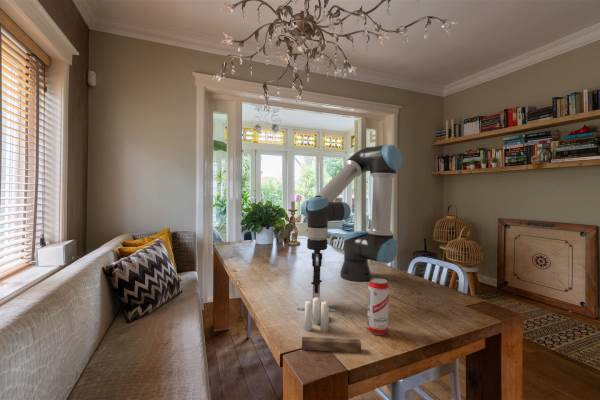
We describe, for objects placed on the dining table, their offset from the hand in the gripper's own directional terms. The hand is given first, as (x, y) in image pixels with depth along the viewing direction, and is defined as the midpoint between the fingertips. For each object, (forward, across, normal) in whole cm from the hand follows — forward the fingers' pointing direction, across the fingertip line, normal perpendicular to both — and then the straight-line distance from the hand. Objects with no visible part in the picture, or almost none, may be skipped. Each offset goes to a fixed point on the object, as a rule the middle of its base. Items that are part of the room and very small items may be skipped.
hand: (316, 300), depth 107 cm
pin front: (+2, +14, 0) cm, 14 cm away
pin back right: (+2, +18, +3) cm, 19 cm away
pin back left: (+2, +18, -2) cm, 19 cm away
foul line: (+2, +4, 0) cm, 4 cm away
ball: (-1, +10, 0) cm, 10 cm away
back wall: (+2, +29, +4) cm, 29 cm away
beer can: (+2, +18, +19) cm, 26 cm away
